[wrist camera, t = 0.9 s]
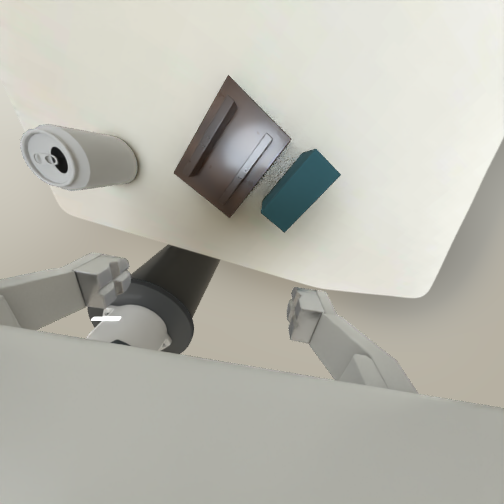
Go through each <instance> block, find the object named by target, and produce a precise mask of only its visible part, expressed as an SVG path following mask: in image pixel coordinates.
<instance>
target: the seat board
mask: <svg viewBox="0 0 504 504" xmlns="http://www.w3.org/2000/svg"><path fill="white" fill-rule="evenodd" d="M290 140H291V138H290V137H289V136H288V135H287V134H286V133H285V132H284V131H283V130H282V129H281V128H280V127H279V126H278V125H277V124H276V123H275V122H274V121H273V120H272V119H271V118H270V117H269V116H268V115H267V114H266V113H265V112H264V111H263V110H262V109H261V108H260V107H259V106H258V105H257V104H256V103H255V102H254V101H253V100H252V99H251V98H250V97H249V96H248V95H247V94H246V92H245V91H244V90H243V89H242V88H241V87H240V86H239V85H238V84H237V83H236V82H235V81H234V80H233V79H232V78H231V77H230V76H229V75H228V76H227V78H226V80H225V82H224V83H223V85H222V87H221V89H220V91H219V92H218V94H217V96H216V98H215V100H214V101H213V103H212V105H211V107H210V108H209V110H208V112H207V114H206V116H205V117H204V119H203V121H202V123H201V125H200V126H199V128H198V130H197V132H196V134H195V135H194V137H193V139H192V141H191V142H190V144H189V146H188V148H187V150H186V151H185V153H184V155H183V157H182V159H181V160H180V162H179V164H178V166H177V168H176V169H175V171H174V174H176V175H177V176H178V177H179V178H181V179H182V180H183V181H184V182H186V183H187V184H188V185H189V186H191V187H192V188H193V189H194V190H196V191H197V192H198V193H199V194H201V195H202V196H203V197H204V198H206V199H207V200H208V201H209V202H211V203H212V204H213V205H214V206H216V207H217V208H218V209H219V210H221V211H222V212H223V213H224V214H226V215H227V216H228V217H229V218H230V217H231V216H232V214H233V213H234V212H235V210H236V209H237V208H238V207H239V205H240V204H241V203H242V202H243V200H244V199H245V198H246V196H247V195H248V194H249V193H250V191H251V190H252V189H253V187H254V186H255V185H256V184H257V182H258V181H259V180H260V179H261V177H262V176H263V175H264V173H265V172H266V171H267V170H268V168H269V167H270V166H271V165H272V163H273V162H274V161H275V159H276V158H277V157H278V156H279V154H280V153H281V152H282V151H283V149H284V148H285V147H286V145H287V144H288V143H289V142H290Z"/></svg>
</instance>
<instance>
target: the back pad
mask: <svg viewBox="0 0 504 504" xmlns="http://www.w3.org/2000/svg"><path fill="white" fill-rule="evenodd" d="M340 175H341V174H340V173H339V172H338V171H337V170H336V169H335V168H334V167H333V166H332V165H331V164H330V163H329V162H328V161H327V160H326V159H325V158H324V157H323V156H322V155H321V153H320V152H319V151H318V150H317V149H314V150H310V151H307V152H304V153H302V154H301V155H300V156H299V158H298V159H297V160H296V161H295V162H294V164H293V165H292V166H291V167H290V168H289V170H288V171H287V172H286V173H285V174H284V176H283V177H282V178H281V179H280V180H279V182H278V183H277V184H276V185H275V186H274V188H273V189H272V190H271V191H270V192H269V194H268V195H267V196H266V197H265V198H264V200H263V201H262V209H261V213H262V214H263V215H264V216H265V217H267V218H268V219H269V220H270V221H271V222H273V223H274V224H275V225H276V226H277V227H278V228H280V229H281V230H282V231H283V232H286V231H287V230H288V229H289V228H290V226H291V225H292V224H293V223H294V222H295V221H296V220H297V219H298V218H299V217H300V216H301V215H302V214H303V213H304V212H305V211H306V210H307V209H308V208H309V207H310V206H311V205H312V204H313V203H314V202H315V201H316V200H317V199H318V198H319V197H320V196H321V195H322V194H323V193H324V192H325V191H326V190H327V189H328V188H329V187H330V186H331V185H332V184H333V183H334V181H335V180H336V179H337V178H338V177H339V176H340Z"/></svg>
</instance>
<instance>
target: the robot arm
mask: <svg viewBox="0 0 504 504" xmlns="http://www.w3.org/2000/svg"><path fill="white" fill-rule="evenodd" d="M128 267H129V262H128V260H127V259H125V258H121V257H116V256H110V255H104V254H100V253H89V254H87V255H85V256H83V257H81V258H79V259H77V260H75V261H73V262H71V263H70V264H67V265H65V266H63V267H61V268H59V269H57V268H53V269H48V270H44V271H40V272H34V273H30V274H24V275H20V276H15V277H10V278H6V279H0V504H504V408H500V407H494V406H488V405H482V404H476V403H470V402H464V401H458V400H452V399H446V398H440V397H434V396H427V395H422V394H419V393H418V392H417V390H416V389H415V387H414V386H413V384H412V383H411V381H410V380H409V378H408V377H407V375H406V374H405V372H404V371H403V369H402V368H401V366H400V365H399V363H398V362H397V360H396V359H394V358H393V357H392V356H391V355H389V354H388V353H387V352H386V351H384V350H383V349H382V348H381V347H379V346H378V345H377V344H375V343H374V342H373V341H372V340H371V339H369V338H368V337H367V336H366V335H364V334H363V333H362V332H361V331H359V330H358V329H357V328H356V327H354V326H353V325H352V324H351V323H349V322H348V321H347V320H346V319H344V318H343V317H342V316H338V314H337V312H336V311H335V308H334V306H333V304H332V302H331V300H330V298H329V296H328V294H327V292H325V291H320V290H311V289H305V288H298V287H294V288H293V290H292V293H291V294H292V299H291V300H290V301H289V304H288V308H287V320H288V321H289V322H290V325H289V334H290V339H291V340H294V341H299V342H304V343H309V345H310V347H311V348H312V349H313V351H314V352H315V354H316V355H317V356H318V358H319V359H320V360H321V362H322V363H323V364H324V366H325V367H326V369H327V370H328V371H329V373H330V374H331V375H332V377H333V378H334V379H335V380H332V379H325V378H320V377H314V376H308V375H301V374H296V373H290V372H284V371H277V370H272V369H266V368H260V367H254V366H248V365H241V364H235V363H229V362H223V361H217V360H211V359H205V358H199V357H193V356H187V355H181V354H175V353H169V352H163V351H161V350H163V349H165V348H166V347H168V346H169V345H170V344H171V343H172V340H171V338H170V336H169V335H168V333H167V327H166V325H165V323H164V321H163V320H162V319H161V318H160V317H159V316H158V315H157V314H156V313H154V312H153V311H151V310H149V309H147V308H145V307H142V306H138V305H123V306H114V305H110V304H112V303H113V302H114V301H115V300H116V299H117V295H119V294H122V293H124V292H125V291H126V290H127V289H128V287H129V286H130V284H131V274H130V273H129V272H128V270H127V269H128ZM86 306H87V307H94V308H101V309H104V311H103V316H102V317H93V318H92V319H91V320H92V321H99V320H102V321H101V322H100V323H99V324H98V325H97V326H96V327H95V328H94V329H93V330H92V332H90V334H89V335H88V336H87V339H85V338H79V337H72V336H67V335H61V334H55V333H48V332H43V331H36V330H38V329H40V328H42V327H44V326H46V325H49V324H51V323H53V322H55V321H57V320H59V319H61V318H63V317H66V316H68V315H70V314H72V313H74V312H77V311H79V310H81V309H83V308H85V307H86Z"/></svg>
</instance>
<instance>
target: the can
mask: <svg viewBox="0 0 504 504" xmlns="http://www.w3.org/2000/svg"><path fill="white" fill-rule="evenodd" d="M20 146H21V147H20V148H21V152H22V155H23V158H24V160H25V162H26V164H27V166H28V167H29V168H30V169H31V170H32V172H33V173H34V174H35V175H36V176H37V177H39V178H40V179H41V180H42V181H44V182H46V183H47V184H49V185H52V186H56V187H60V188H62V189H66V190H70V191H75V190H84V189H91V188H98V187H105V186H112V185H120V184H127V183H129V182H131V181H132V180H133V179H134V178H135V176H136V173H137V161H136V158H135V155H134V153H133V151H132V150H131V148H130V147H129V146H128V145H127V144H126V143H125V142H124V141H123V140H121V139H119V138H118V137H115V136H111V135H106V134H100V133H95V132H89V131H84V130H78V129H73V128H67V127H61V126H56V125H50V124H45V125H39V126H38V127H36V128H35V129H29V130H27V131H26V132H25V133H23V136H22V138H21V145H20Z"/></svg>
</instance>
